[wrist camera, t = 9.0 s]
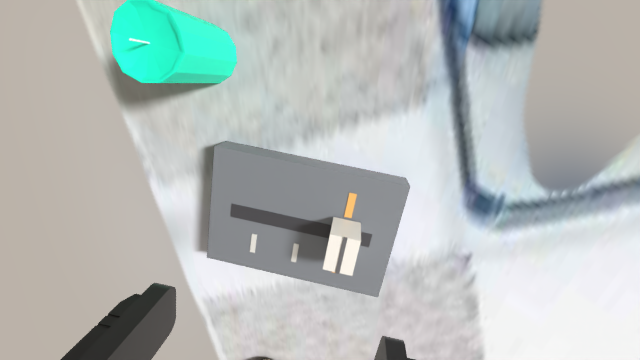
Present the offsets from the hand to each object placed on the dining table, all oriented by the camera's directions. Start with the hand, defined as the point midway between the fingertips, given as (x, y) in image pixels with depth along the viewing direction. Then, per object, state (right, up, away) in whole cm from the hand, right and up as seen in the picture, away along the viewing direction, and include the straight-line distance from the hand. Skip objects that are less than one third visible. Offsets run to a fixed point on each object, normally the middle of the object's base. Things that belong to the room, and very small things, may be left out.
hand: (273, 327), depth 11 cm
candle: (-10, +19, +21) cm, 30 cm away
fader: (+4, -1, +22) cm, 22 cm away
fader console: (0, +1, +25) cm, 25 cm away
